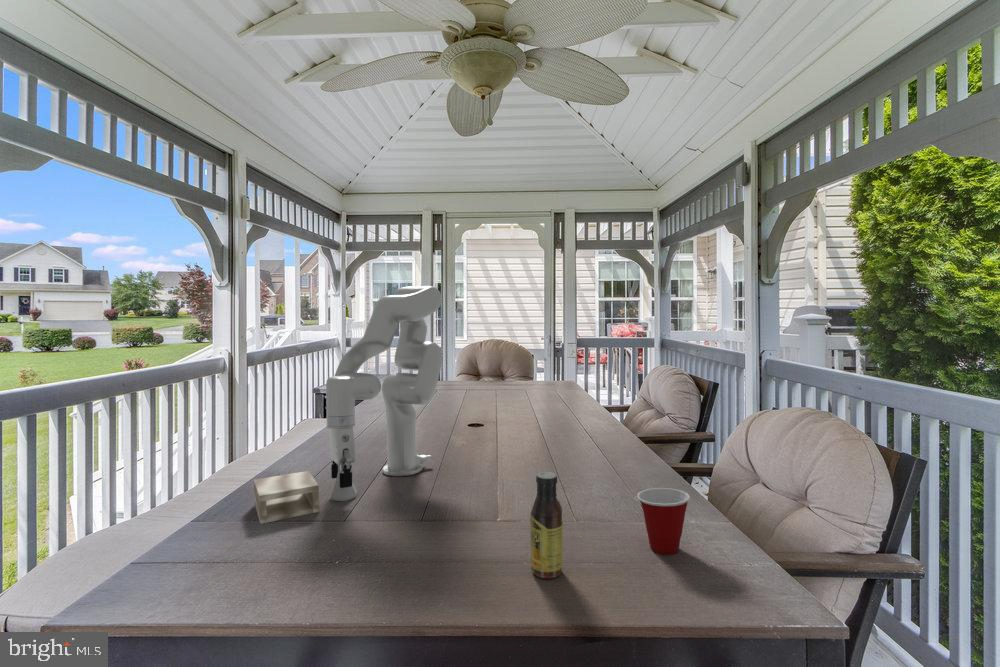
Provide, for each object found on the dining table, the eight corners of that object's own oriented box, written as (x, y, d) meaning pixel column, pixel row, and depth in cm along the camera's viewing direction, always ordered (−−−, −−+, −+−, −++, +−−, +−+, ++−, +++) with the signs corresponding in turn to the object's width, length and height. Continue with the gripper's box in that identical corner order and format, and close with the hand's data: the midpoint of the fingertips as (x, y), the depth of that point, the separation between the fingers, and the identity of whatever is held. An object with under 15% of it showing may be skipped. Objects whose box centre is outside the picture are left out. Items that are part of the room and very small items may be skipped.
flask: (349, 503, 141) (348, 466, 140) (325, 501, 142) (324, 465, 141) (361, 493, 148) (360, 458, 147) (338, 492, 149) (337, 457, 149)
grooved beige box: (309, 495, 147) (308, 470, 146) (319, 511, 135) (318, 485, 134) (254, 505, 140) (253, 479, 139) (260, 523, 128) (259, 495, 127)
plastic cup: (649, 533, 119) (649, 481, 118) (697, 546, 112) (697, 491, 112) (628, 550, 111) (628, 495, 110) (678, 566, 104) (678, 507, 103)
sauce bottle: (528, 565, 105) (527, 469, 104) (559, 563, 106) (558, 467, 105) (533, 582, 99) (532, 480, 98) (566, 580, 99) (565, 478, 98)
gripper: (363, 425, 138) (363, 488, 138) (346, 414, 153) (347, 472, 153) (334, 428, 134) (334, 493, 135) (320, 417, 149) (321, 476, 149)
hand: (341, 482), depth 144 cm, fingers open, 9 cm apart
